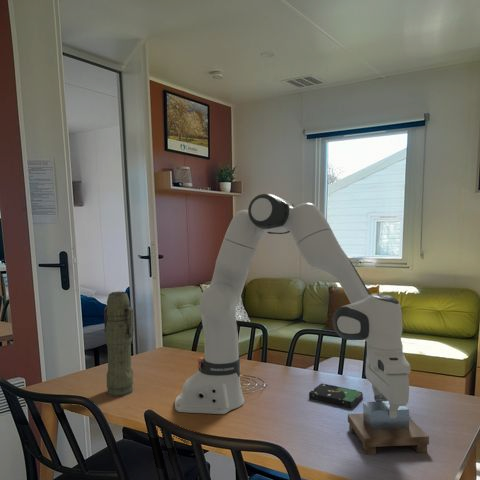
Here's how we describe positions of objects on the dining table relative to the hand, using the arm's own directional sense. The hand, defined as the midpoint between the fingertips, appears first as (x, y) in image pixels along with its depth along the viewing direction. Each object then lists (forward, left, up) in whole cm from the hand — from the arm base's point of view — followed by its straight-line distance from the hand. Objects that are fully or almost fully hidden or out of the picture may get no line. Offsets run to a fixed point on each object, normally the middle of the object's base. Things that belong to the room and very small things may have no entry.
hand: (384, 408), depth 109 cm
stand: (0, 0, -8) cm, 8 cm away
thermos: (-79, +40, -8) cm, 89 cm away
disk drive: (-5, +28, -9) cm, 30 cm away
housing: (0, 0, -4) cm, 4 cm away
